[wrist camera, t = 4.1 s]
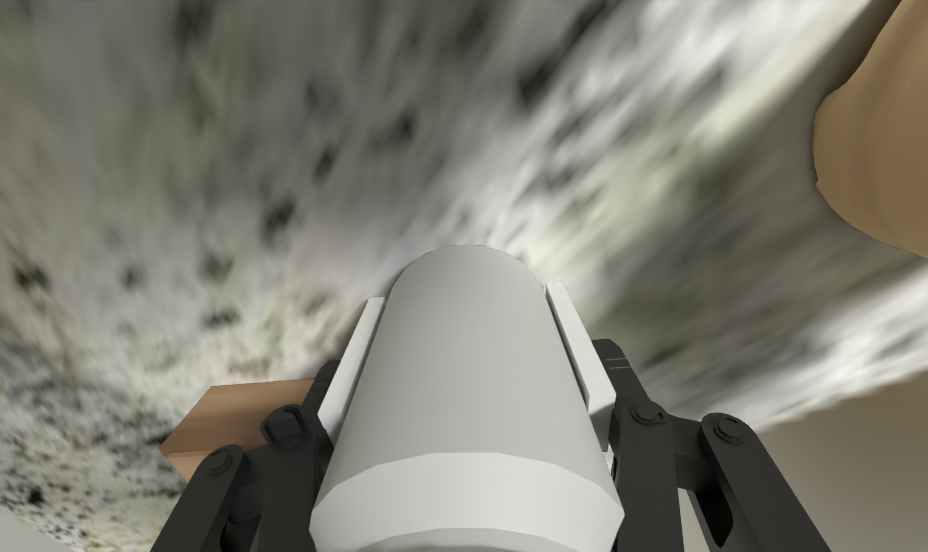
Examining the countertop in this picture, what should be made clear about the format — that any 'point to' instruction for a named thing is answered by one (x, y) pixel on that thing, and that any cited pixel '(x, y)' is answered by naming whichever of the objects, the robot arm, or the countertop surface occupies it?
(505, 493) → the can
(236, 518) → the robot arm
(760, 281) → the countertop surface
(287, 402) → the tan cardboard box
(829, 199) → the container
